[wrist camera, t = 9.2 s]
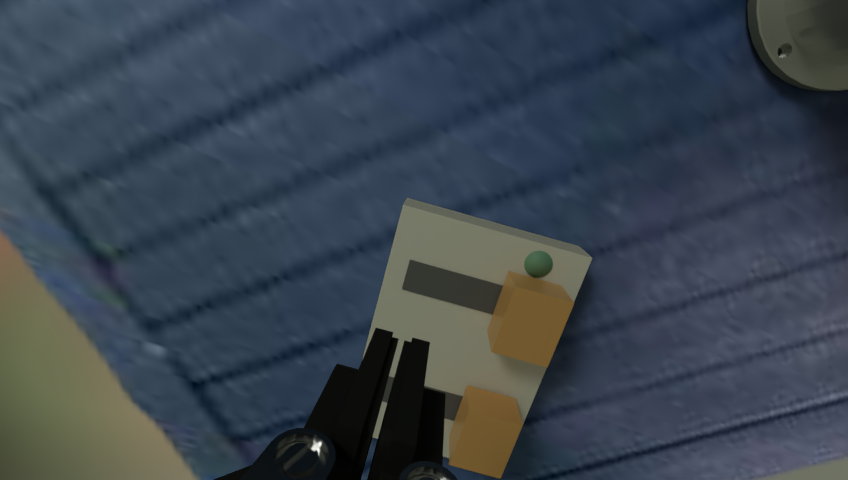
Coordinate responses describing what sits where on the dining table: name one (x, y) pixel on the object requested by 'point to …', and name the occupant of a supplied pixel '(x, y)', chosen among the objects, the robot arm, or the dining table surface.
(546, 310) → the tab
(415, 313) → the switch panel
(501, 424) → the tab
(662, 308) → the dining table surface
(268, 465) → the robot arm
